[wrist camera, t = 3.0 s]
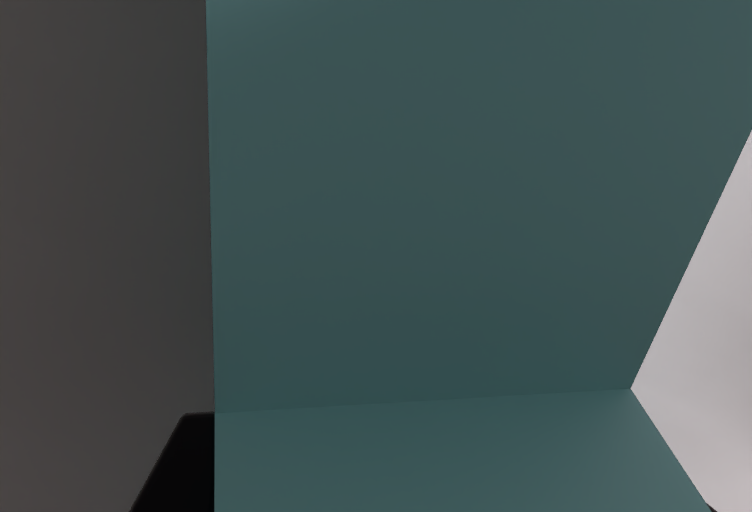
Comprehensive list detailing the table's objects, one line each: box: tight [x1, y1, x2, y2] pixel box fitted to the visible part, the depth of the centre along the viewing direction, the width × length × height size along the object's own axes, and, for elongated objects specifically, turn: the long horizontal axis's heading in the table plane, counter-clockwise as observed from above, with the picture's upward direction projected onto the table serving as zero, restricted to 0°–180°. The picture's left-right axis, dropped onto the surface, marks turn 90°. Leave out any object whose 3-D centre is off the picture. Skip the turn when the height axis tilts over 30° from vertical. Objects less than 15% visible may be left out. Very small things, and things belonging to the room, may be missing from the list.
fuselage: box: [206, 0, 752, 512], centre depth 7 cm, size 12×4×4 cm, turn 173°
